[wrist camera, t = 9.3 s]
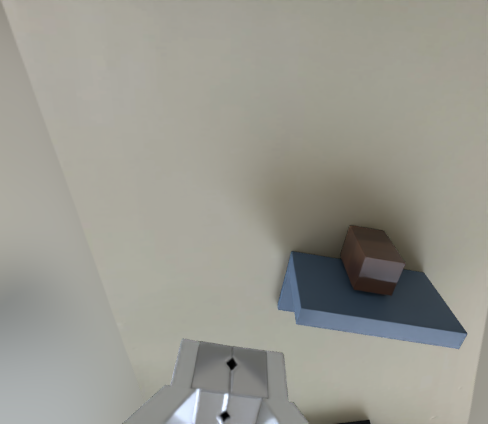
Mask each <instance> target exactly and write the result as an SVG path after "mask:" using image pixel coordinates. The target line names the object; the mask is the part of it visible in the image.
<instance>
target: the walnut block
mask: <svg viewBox="0 0 488 424" xmlns="http://www.w3.org/2000/svg"><path fill="white" fill-rule="evenodd" d="M340 256H341V259H342V261H343V264H344V266H345V269H346V271H347V274H348V277H349V279H350V282H351V284H352V287H353V289H354V290H359V291H365V292H371V293H377V294H384V295H390V296H392V294H393V292H394V289H395V287H396V285H397V282H398V280H399V278H400V275H401V273H402V271H403V268H404V266H405V264H406V263H405V261H404V260H403V258H402V257H401V255H400V254H399V252H398V251H397V249H396V248H395V246H394V245H393V243H392V242H391V240H390V239H389V237H388V236H387V234H386V233H385V231H382V230H376V229H370V228H364V227H358V226H352V225H350V227H349V230H348V233H347V236H346V239H345V242H344V245H343V248H342V250H341V253H340Z"/></svg>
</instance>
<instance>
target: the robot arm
mask: <svg viewBox="0 0 488 424" xmlns="http://www.w3.org/2000/svg"><path fill="white" fill-rule="evenodd" d="M199 342H200V344H199ZM122 424H309V422H308V421H307V420H306V418H305V417H304V416H303V414H302V413H301V412H300V410H299V409H298V407H297V406H296V405H295V403H294V402H289V401H288V391H287V381H286V370H285V360H284V354H283V353H281V352H274V351H265V350H258V349H251V348H243V347H236V346H227V345H221V344H215V343H209V342H203V341H195V340H189V339H182V341H181V344H180V348H179V352H178V356H177V360H176V364H175V368H174V373H173V377H172V381H171V385H164V386H163V387H162V388H161V389H160V390H159V391H158V392H157V393H155V394H154V395H153V396H152V397H151V398H150V399H149V400H148V401H147V402H145V403H144V404H143V405H142V406H141V407H140V408H139V409H138V410H137V411H136V412H135V413H133V414H132V415H131V416H130V417H129V418H128V419H127V420H126V421H124V422H123V423H122Z"/></svg>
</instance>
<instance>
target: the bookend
mask: <svg viewBox="0 0 488 424" xmlns="http://www.w3.org/2000/svg"><path fill="white" fill-rule="evenodd" d="M278 310H283V311H290V312H295V319H296V324H298V325H305V326H312V327H318V328H325V329H331V330H338V331H344V332H351V333H357V334H364V335H371V336H377V337H384V338H390V339H397V340H403V341H410V342H416V343H423V344H430V345H436V346H443V347H449V348H456V349H459V348H460V346H461V344H462V343H463V341H464V339H465V337H466V336H467V332H466V331H465V329H464V328H463V327H462V325H461V324H460V322H459V321H458V320H457V318H456V317H455V315H454V314H453V313H452V311H451V310H450V308H449V307H448V306H447V304H446V303H445V301H444V300H443V299H442V297H441V296H440V294H439V293H438V292H437V290H436V289H435V287H434V286H433V285H432V283H431V282H430V280H429V279H428V278H427V276H426V275H425V273H424V272H417V271H411V270H405V269H403V271H402V273H401V275H400V278H399V280H398V282H397V285H396V287H395V289H394V292H393V294H392V296H390V295H384V294H377V293H371V292H365V291H359V290H354V289H353V287H352V284H351V282H350V279H349V277H348V274H347V271H346V269H345V266H344V264H343V261H342V259H337V258H331V257H324V256H318V255H312V254H306V253H300V252H293V251H292V252H291V255H290V259H289V263H288V267H287V271H286V274H285V278H284V282H283V286H282V290H281V294H280V297H279V301H278Z"/></svg>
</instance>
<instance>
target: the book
mask: <svg viewBox="0 0 488 424" xmlns="http://www.w3.org/2000/svg"><path fill="white" fill-rule="evenodd" d="M339 424H370V421H369V420H365V421H356V422H348V423H339Z"/></svg>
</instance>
